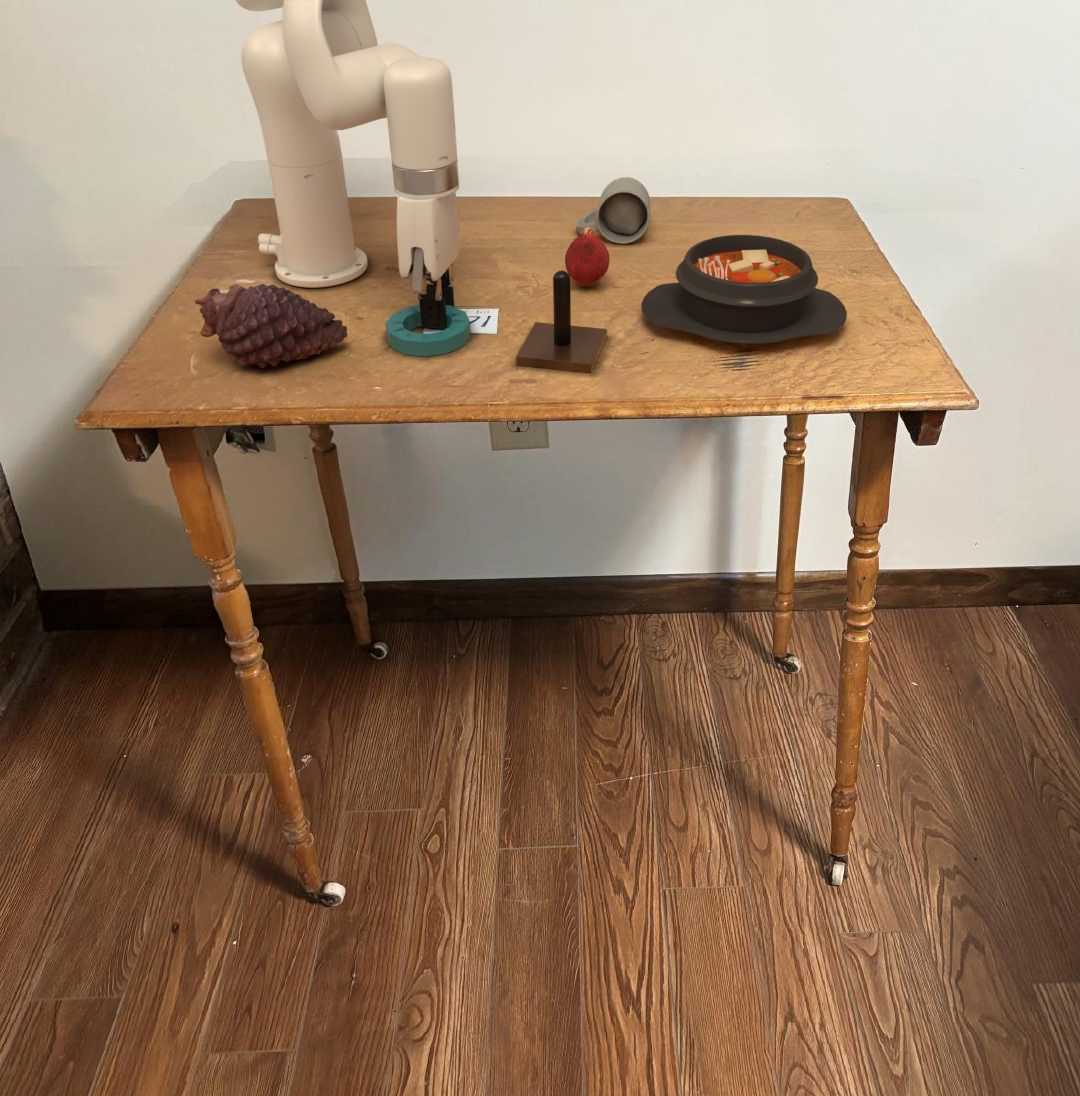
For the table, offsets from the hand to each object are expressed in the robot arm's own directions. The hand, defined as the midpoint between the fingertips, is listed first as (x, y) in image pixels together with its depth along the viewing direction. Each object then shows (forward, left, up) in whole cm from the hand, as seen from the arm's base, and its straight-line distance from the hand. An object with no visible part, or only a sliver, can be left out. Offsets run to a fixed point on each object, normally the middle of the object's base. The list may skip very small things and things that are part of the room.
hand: (438, 320), depth 138 cm
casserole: (+37, +8, -1) cm, 38 cm away
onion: (+16, +14, -1) cm, 21 cm away
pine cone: (-16, -13, -1) cm, 21 cm away
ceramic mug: (+16, +32, -1) cm, 36 cm away
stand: (+17, -4, 0) cm, 17 cm away
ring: (0, -4, 0) cm, 4 cm away
